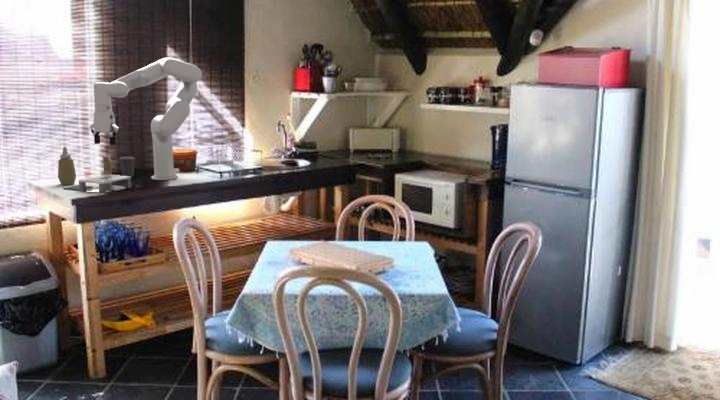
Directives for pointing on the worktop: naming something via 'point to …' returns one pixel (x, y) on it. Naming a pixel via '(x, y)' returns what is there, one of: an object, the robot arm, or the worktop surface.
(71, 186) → the mat
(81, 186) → the small grey pallet
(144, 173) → the worktop surface
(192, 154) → the food container
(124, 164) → the coffee cup
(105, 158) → the dowel
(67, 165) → the squeeze bottle
